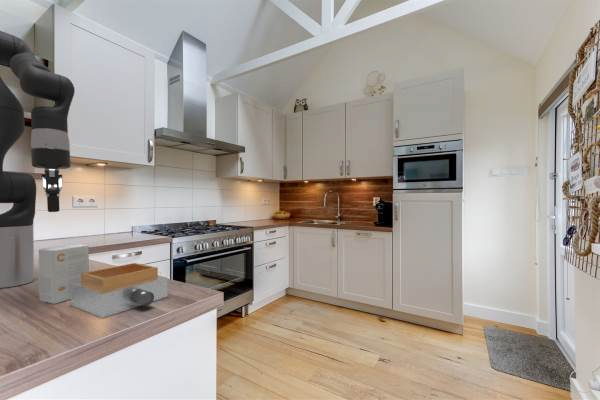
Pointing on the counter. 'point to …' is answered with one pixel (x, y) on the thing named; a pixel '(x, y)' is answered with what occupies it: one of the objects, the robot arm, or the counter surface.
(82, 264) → the small box
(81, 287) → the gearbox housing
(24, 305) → the counter surface
